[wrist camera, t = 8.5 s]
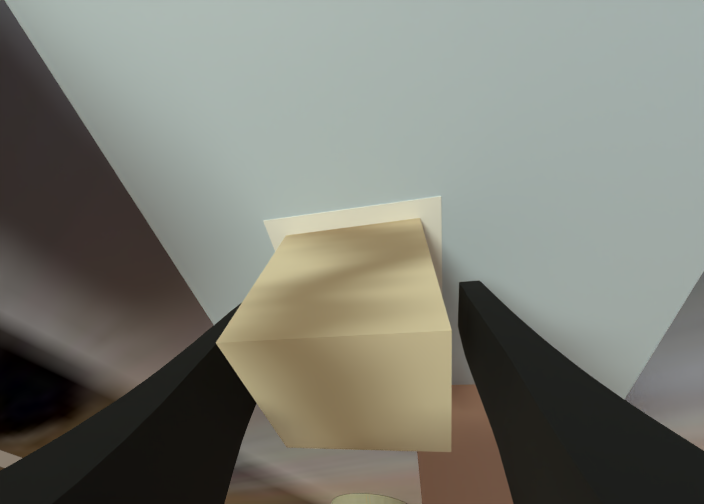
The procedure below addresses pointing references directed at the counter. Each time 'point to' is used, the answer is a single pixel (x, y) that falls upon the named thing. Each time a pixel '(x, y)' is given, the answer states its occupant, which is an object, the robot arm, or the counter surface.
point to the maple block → (348, 341)
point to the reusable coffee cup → (365, 499)
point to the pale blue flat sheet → (413, 144)
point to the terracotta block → (465, 458)
